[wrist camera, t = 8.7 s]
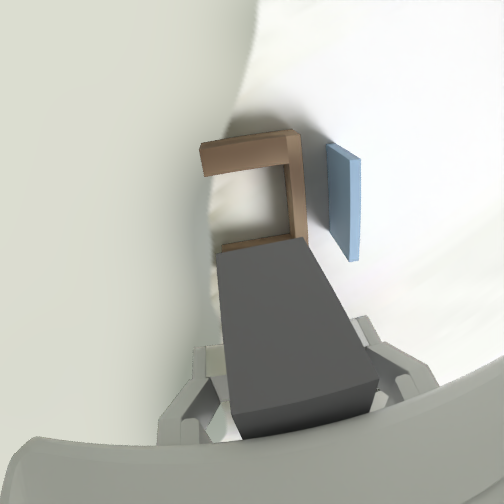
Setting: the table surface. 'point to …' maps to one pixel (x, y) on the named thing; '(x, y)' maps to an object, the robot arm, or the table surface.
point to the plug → (288, 343)
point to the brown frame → (294, 183)
